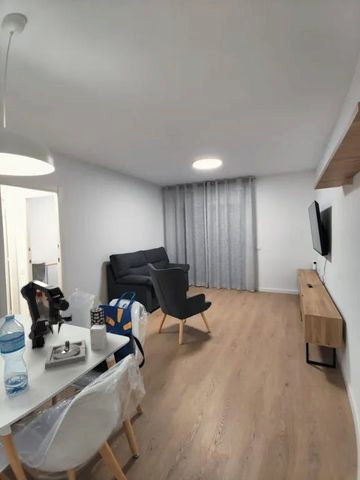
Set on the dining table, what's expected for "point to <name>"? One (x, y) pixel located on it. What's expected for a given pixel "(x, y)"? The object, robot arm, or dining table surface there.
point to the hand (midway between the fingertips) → (55, 333)
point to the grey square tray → (53, 362)
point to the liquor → (42, 307)
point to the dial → (66, 351)
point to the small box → (98, 337)
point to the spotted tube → (97, 316)
